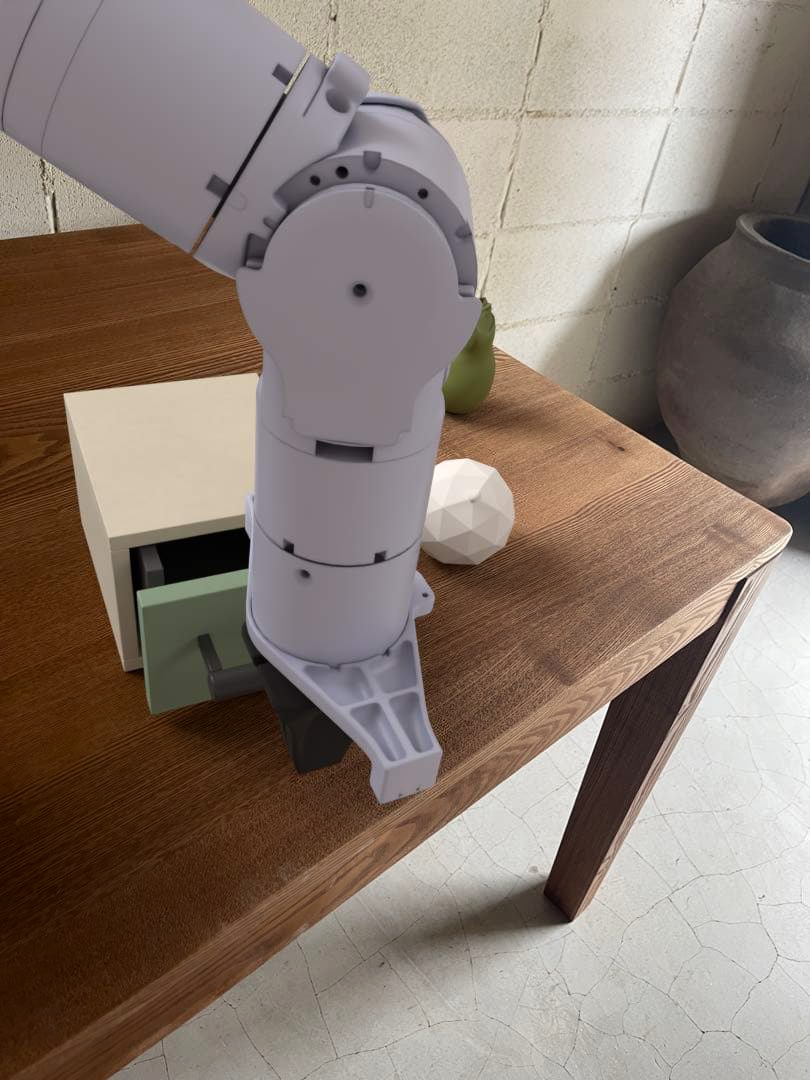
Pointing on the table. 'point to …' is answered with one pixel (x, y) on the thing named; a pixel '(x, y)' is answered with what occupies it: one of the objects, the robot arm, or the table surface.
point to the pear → (472, 367)
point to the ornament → (467, 513)
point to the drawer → (194, 618)
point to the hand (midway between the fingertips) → (315, 756)
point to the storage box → (158, 475)
